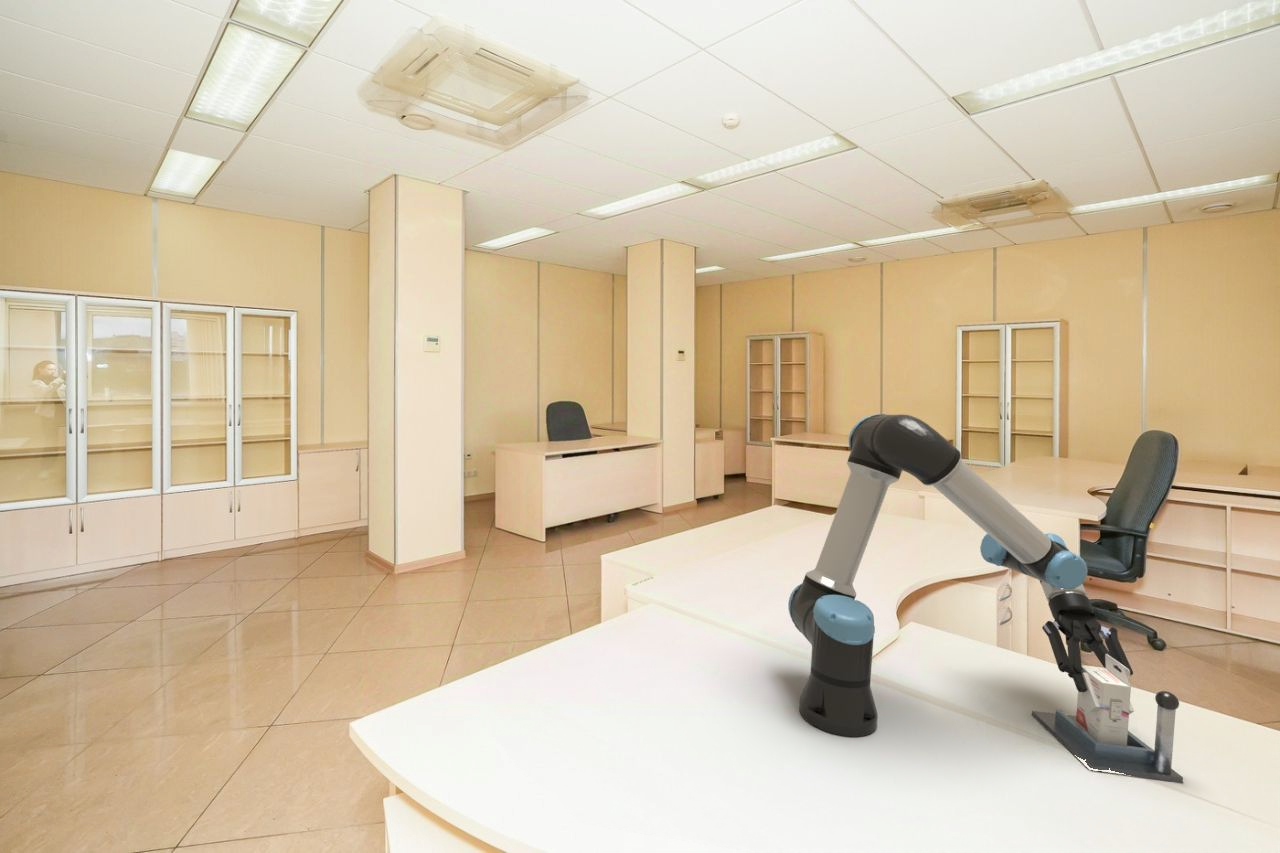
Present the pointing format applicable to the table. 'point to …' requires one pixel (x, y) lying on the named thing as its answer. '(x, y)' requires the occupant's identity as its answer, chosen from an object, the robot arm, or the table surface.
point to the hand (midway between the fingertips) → (1111, 711)
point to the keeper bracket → (1120, 757)
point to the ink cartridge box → (1107, 703)
